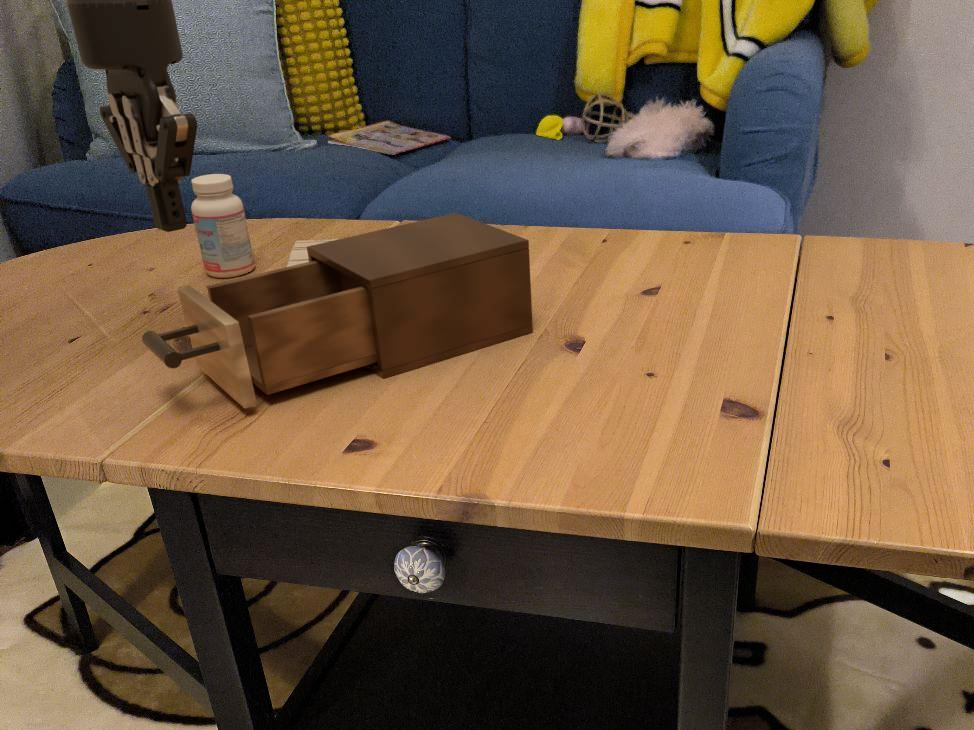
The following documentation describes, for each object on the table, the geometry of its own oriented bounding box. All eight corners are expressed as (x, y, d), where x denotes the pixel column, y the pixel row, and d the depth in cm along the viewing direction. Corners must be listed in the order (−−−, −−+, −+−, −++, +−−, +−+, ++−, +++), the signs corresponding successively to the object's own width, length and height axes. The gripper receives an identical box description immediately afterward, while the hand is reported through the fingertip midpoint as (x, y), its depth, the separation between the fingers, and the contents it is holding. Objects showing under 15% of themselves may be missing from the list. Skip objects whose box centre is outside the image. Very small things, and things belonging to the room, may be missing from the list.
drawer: (190, 425, 83) (167, 340, 79) (146, 379, 92) (123, 300, 87) (406, 359, 93) (397, 280, 89) (349, 324, 102) (337, 250, 98)
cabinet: (383, 378, 92) (369, 280, 87) (322, 337, 101) (306, 246, 96) (533, 332, 100) (528, 239, 95) (463, 298, 110) (456, 212, 104)
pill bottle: (199, 270, 122) (177, 178, 115) (245, 260, 125) (226, 169, 118) (216, 282, 118) (194, 187, 111) (263, 271, 120) (244, 178, 114)
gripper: (35, -2, 75) (97, 226, 84) (106, -1, 67) (166, 251, 76) (128, -7, 79) (177, 210, 89) (206, -7, 71) (251, 232, 80)
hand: (172, 228), depth 82 cm, fingers closed
